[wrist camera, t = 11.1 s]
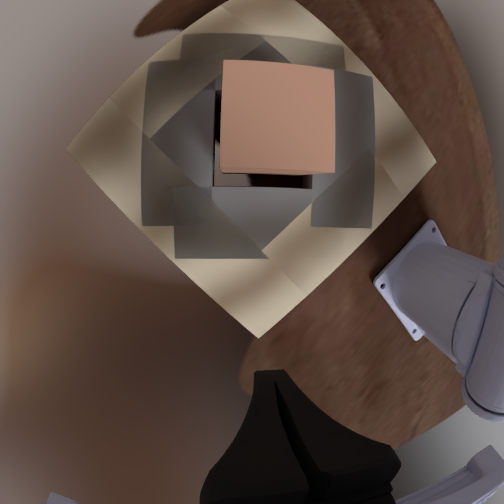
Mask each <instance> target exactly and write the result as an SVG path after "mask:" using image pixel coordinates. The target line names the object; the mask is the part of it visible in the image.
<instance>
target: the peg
mask: <svg viewBox="0 0 504 504" xmlns="http://www.w3.org/2000/svg"><path fill="white" fill-rule="evenodd" d="M220 169H221V171H222V173H223V174H226V173H227V174H232V173H233V174H270V175H292V176H295V175H307V174H321V173H335V87H334V70H330V69H324V68H318V67H312V66H305V65H297V64H288V63H279V62H266V61H250V60H224V62H223V80H222V102H221V129H220Z"/></svg>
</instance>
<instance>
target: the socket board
mask: <svg viewBox="0 0 504 504" xmlns="http://www.w3.org/2000/svg"><path fill="white" fill-rule="evenodd" d="M224 60H250V61H266V62H279V63H288V64H297V65H305V66H312V67H318V68H324V69H330V70H334V87H335V173H321V174H307V175H303V176H302V188H284V187H251V186H214V160H215V126H216V102H217V101H222V80H223V62H224ZM66 150H67V151H68V152H69V154H70V155H71V156H72V157H73V158H74V159H75V161H76V162H77V163H78V164H79V165H80V166H81V167H82V168H83V170H84V171H85V172H86V173H87V174H88V175H89V176H90V177H91V178H92V180H93V181H94V182H95V183H96V184H97V185H98V186H99V187H100V188H101V189H102V190H103V192H105V194H106V195H107V196H108V197H109V198H110V199H111V200H112V201H113V202H114V203H115V204H116V205H117V206H118V207H119V208H120V210H121V211H122V212H124V214H125V215H126V216H127V217H128V218H129V219H130V220H131V221H132V222H133V223H134V224H135V225H136V226H137V227H138V228H139V229H140V230H141V231H142V232H143V233H144V234H145V235H146V236H147V237H148V238H149V239H150V240H151V241H152V242H153V243H154V244H155V245H156V246H157V247H158V248H159V249H160V250H161V251H162V252H163V253H164V254H165V255H166V256H167V257H168V258H170V259H171V260H172V261H173V262H174V263H175V264H176V265H177V266H178V267H179V268H180V269H181V270H182V271H183V272H184V273H185V274H186V275H187V276H189V277H190V278H191V279H192V280H193V281H194V282H195V283H196V284H197V285H198V286H199V287H201V289H203V290H204V291H205V292H206V293H207V294H208V295H209V296H211V298H213V299H214V300H215V301H216V302H217V303H218V304H219V305H220V306H222V307H223V308H224V309H225V310H226V311H227V312H228V313H229V314H231V315H232V316H233V317H234V318H235V319H236V320H237V321H239V322H240V323H241V324H242V325H243V326H244V327H246V328H247V329H248V330H249V331H250V332H251V333H253V334H254V335H255V336H256V337H257V338H260V337H261V336H262V335H263V334H264V333H265V332H267V331H268V330H269V329H270V328H271V327H272V326H274V325H275V324H276V323H277V322H278V321H279V320H280V319H282V318H283V317H284V316H285V315H286V314H287V313H288V312H290V311H291V310H292V309H293V308H294V307H295V306H296V305H297V304H298V303H300V302H301V301H302V300H303V299H304V298H305V297H306V296H307V295H308V294H309V293H311V292H312V291H313V290H314V289H315V288H316V287H317V286H318V285H319V284H320V283H321V282H322V281H323V280H324V279H326V278H327V277H328V276H329V275H330V274H331V273H332V272H333V271H334V270H335V269H336V268H337V267H338V266H339V265H340V264H341V263H342V262H343V261H344V260H345V259H346V258H347V257H348V256H349V255H350V254H351V253H352V252H353V251H354V250H355V249H356V248H357V247H358V246H359V245H360V244H361V243H362V242H363V241H364V240H365V239H366V238H367V237H368V236H369V235H370V234H371V233H372V232H373V231H374V230H375V229H376V228H377V227H378V226H379V225H380V224H381V223H382V222H383V221H384V220H385V219H386V217H387V216H388V215H389V214H390V213H391V212H392V211H393V210H394V209H395V208H396V207H397V206H398V205H399V204H400V202H401V201H402V200H403V199H404V198H405V197H406V196H407V195H408V194H409V193H410V191H411V190H412V189H413V188H414V187H415V186H416V185H417V184H418V182H419V181H420V180H421V179H422V178H423V177H424V176H425V174H426V173H427V172H428V171H429V170H430V169H431V167H432V166H433V165H434V164H435V163H436V160H435V159H434V157H433V155H432V154H431V152H430V150H429V149H428V147H427V146H426V144H425V142H424V141H423V139H422V138H421V136H420V135H419V133H418V132H417V130H416V129H415V127H414V126H413V125H412V123H411V122H410V120H409V119H408V117H407V116H406V115H405V113H404V112H403V111H402V109H401V108H400V107H399V105H398V104H397V103H396V101H395V100H394V99H393V97H392V96H391V95H390V94H389V92H388V91H387V90H386V89H385V88H384V86H383V85H382V84H381V83H380V82H379V80H378V79H377V78H376V77H375V76H374V75H373V73H372V72H371V71H370V70H369V69H368V68H367V67H366V66H365V64H364V63H363V62H362V61H361V60H360V59H359V58H358V57H357V56H356V55H355V54H354V53H353V52H352V51H351V50H350V49H349V48H348V47H347V46H346V45H345V44H344V43H343V42H342V41H341V40H340V39H339V38H338V37H337V36H336V35H335V34H334V33H333V32H332V31H331V30H330V29H328V28H327V27H326V26H325V25H324V24H323V23H322V22H321V21H319V20H318V19H317V18H316V17H315V16H314V15H312V14H311V13H310V12H309V11H308V10H306V9H305V8H304V7H303V6H301V5H300V4H299V3H298V2H296V1H295V0H228V1H227V2H225V3H223V4H222V5H220V6H219V7H217V8H215V9H214V10H212V11H211V12H209V13H208V14H206V15H205V16H203V17H202V18H200V19H199V20H197V21H196V22H195V23H193V24H192V25H190V26H189V27H188V28H186V29H185V30H184V31H182V32H181V33H180V34H178V35H177V36H176V37H174V38H173V39H172V40H171V41H169V42H168V43H167V44H166V45H164V46H163V47H162V48H161V49H159V51H157V52H156V53H155V54H154V55H152V56H151V57H150V58H149V59H148V60H147V61H146V62H144V63H143V64H142V65H141V66H140V67H139V68H138V69H137V70H136V71H135V72H134V73H133V74H131V76H129V77H128V78H127V79H126V80H125V81H124V82H123V83H122V84H121V85H120V86H119V87H118V88H117V89H116V91H114V92H113V93H112V94H111V96H110V97H109V98H108V99H107V100H106V101H105V102H104V103H103V104H102V105H101V107H100V108H99V109H98V110H97V111H96V112H95V113H94V114H93V116H92V117H91V118H90V119H89V120H88V121H87V123H86V124H85V125H84V126H83V128H82V129H81V130H80V131H79V133H78V134H77V135H76V136H75V138H74V139H73V140H72V141H71V143H70V144H69V145H68V147H67V148H66Z"/></svg>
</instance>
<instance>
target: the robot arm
mask: <svg viewBox="0 0 504 504" xmlns="http://www.w3.org/2000/svg"><path fill="white" fill-rule="evenodd" d="M432 228H433V231H432ZM373 284H374V286H375V287H376V289H377V290H378V291H379V292H380V294H381V295H382V296H383V298H384V299H385V300H386V302H387V303H388V305H389V306H390V307H391V309H392V310H393V311H394V313H395V314H396V316H397V317H398V318H399V320H400V321H401V322H402V324H403V325H404V327H405V328H406V330H407V331H408V332H409V334H410V335H411V337H412V338H413V339H414V340H415V341H417V340H419V339H420V338H421V337H422V336H423V335H424V336H425V337H426V338H428V339H429V340H430V341H431V342H432V343H433V344H434V345H436V346H437V347H438V348H439V349H440V350H441V351H442V352H443V353H445V354H446V355H447V356H448V357H449V358H450V359H451V360H452V361H454V362H455V363H456V366H455V370H456V371H457V372H459V373H460V374H461V375H462V376H463V377H464V378H463V381H462V384H461V393H462V397H463V400H464V402H465V403H466V405H467V406H468V407H469V408H470V409H471V411H472V412H474V413H475V414H476V415H478V416H479V417H481V418H483V419H486V420H489V421H493V422H504V256H503V257H502V258H500V259H498V260H497V261H496V262H495V263H494V264H492V263H489V262H487V261H484V260H482V259H479V258H477V257H474V256H472V255H469V254H467V253H464V252H461V251H459V250H456V249H453V248H451V247H448V246H447V245H446V243H445V241H444V239H443V237H442V235H441V233H440V231H439V229H438V227H437V225H436V223H435V222H434V221H433V220H428V221H427V222H426V223H425V224H424V225H423V226H422V227H421V229H420V230H419V231H418V232H417V233H416V234H415V235H414V237H413V238H412V239H411V240H410V241H409V242H408V243H407V244H406V246H405V247H404V248H403V249H402V250H401V251H400V252H399V253H398V254H397V255H396V256H395V258H394V259H393V260H392V261H391V262H390V263H389V264H388V265H387V266H386V267H385V268H384V269H383V270H382V271H381V272H380V273H379V274H378V275H377V276H376V277H375V279H374V281H373ZM381 284H383V287H381V288H380V286H381ZM413 330H414V331H413ZM400 467H401V462H400V460H399V458H398V456H397V455H396V453H395V451H394V450H393V449H392V448H391V446H390V445H387V444H384V443H380V442H377V441H374V440H371V439H369V438H367V437H364V436H362V435H360V434H358V433H356V432H354V431H352V430H350V429H348V428H346V427H345V426H343V425H341V424H339V423H338V422H336V421H335V420H333V419H332V418H331V417H329V416H328V415H327V414H325V413H324V412H323V411H322V410H321V409H319V408H318V407H317V406H316V405H315V404H314V403H313V402H312V401H311V400H310V399H309V398H308V397H307V396H306V395H305V394H304V393H303V392H302V391H301V390H300V389H299V387H298V386H297V385H296V384H295V383H294V381H293V380H292V379H291V378H290V376H289V375H288V374H287V372H286V371H285V370H284V369H282V370H264V371H256V372H255V373H254V390H253V395H252V400H251V403H250V406H249V409H248V411H247V414H246V417H245V419H244V421H243V423H242V425H241V428H240V429H239V431H238V433H237V435H236V437H235V438H234V440H233V442H232V443H231V445H230V446H229V448H228V449H227V450H226V452H225V453H224V455H223V456H222V457H221V458H220V460H219V461H218V462H217V463H216V464H215V465H214V466H213V467H212V469H211V470H210V471H209V473H208V475H207V477H206V480H205V482H204V484H203V487H202V490H201V493H200V504H482V503H483V502H485V501H486V500H487V499H488V498H489V497H490V496H491V495H492V494H493V493H494V492H496V491H497V490H498V489H499V488H500V487H501V486H502V485H503V484H504V460H503V459H502V458H501V456H500V455H499V454H498V453H497V452H496V450H495V449H494V448H493V447H492V446H491V445H489V446H488V447H486V448H484V449H483V450H481V451H480V452H478V453H477V454H476V455H475V456H473V458H471V459H470V461H469V462H468V464H467V465H466V466H465V467H463V468H461V469H460V470H458V471H456V472H454V473H453V474H451V475H449V476H447V477H445V478H443V479H442V480H440V481H438V482H436V483H434V484H432V485H430V486H428V487H426V488H423V489H421V490H419V491H417V492H415V493H413V494H410V495H408V496H406V497H403V498H401V499H398V500H396V501H395V500H394V498H393V496H392V495H391V491H392V489H393V488H392V486H391V484H390V482H391V481H392V480H393V478H394V477H395V476H396V474H397V473H398V471H399V469H400ZM46 504H79V503H78V502H76V501H73V500H71V499H68V498H66V497H63V496H60V495H58V494H55V493H53V492H52V493H50V495H49V498H48V501H47V503H46Z"/></svg>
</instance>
